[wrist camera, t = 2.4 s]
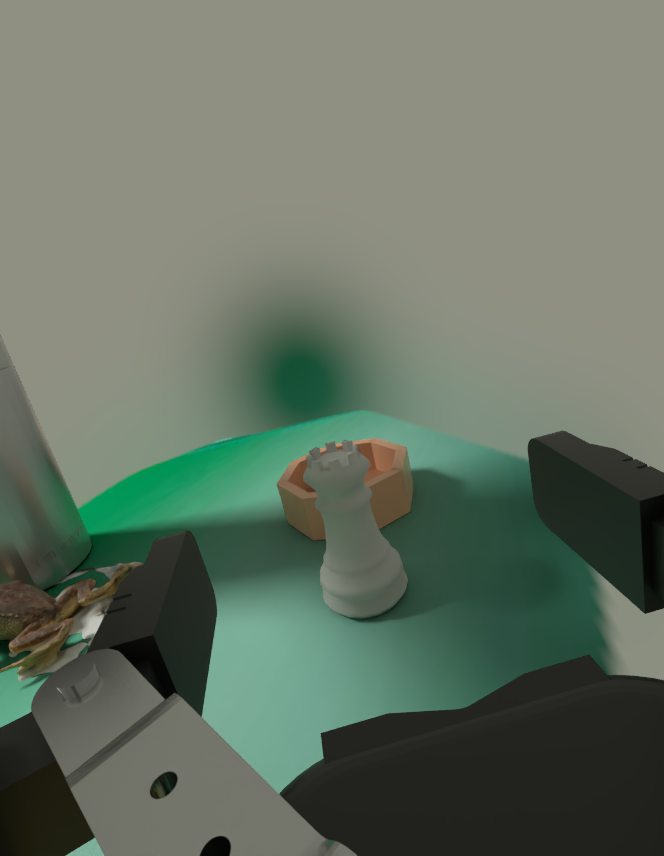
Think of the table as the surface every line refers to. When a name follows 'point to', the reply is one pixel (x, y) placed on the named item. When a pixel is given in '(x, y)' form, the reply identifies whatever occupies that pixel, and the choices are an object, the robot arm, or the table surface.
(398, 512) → the dish
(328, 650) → the table surface
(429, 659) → the table surface
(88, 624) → the frog figurine
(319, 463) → the rook chess piece
